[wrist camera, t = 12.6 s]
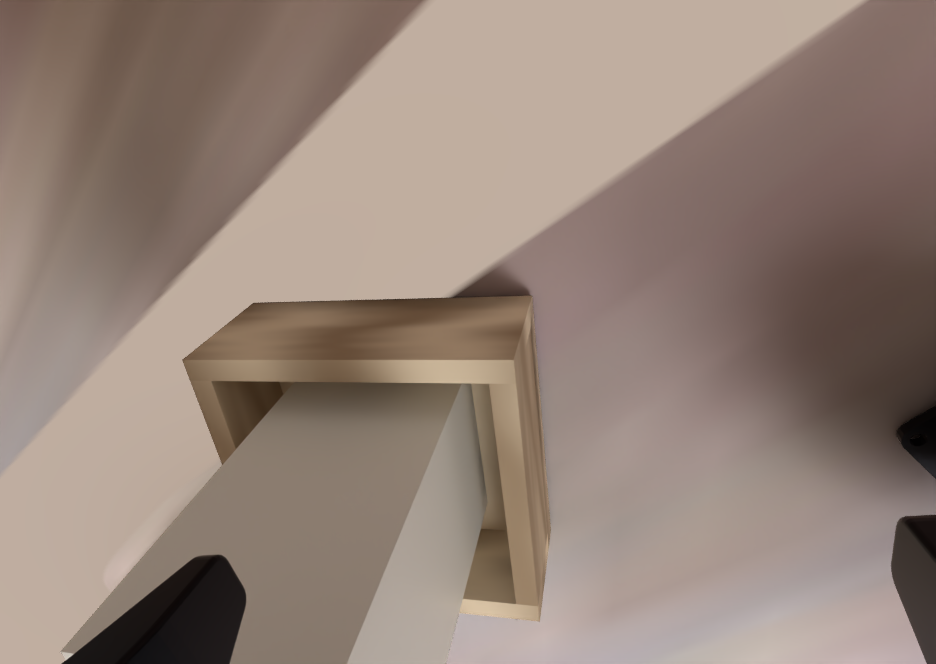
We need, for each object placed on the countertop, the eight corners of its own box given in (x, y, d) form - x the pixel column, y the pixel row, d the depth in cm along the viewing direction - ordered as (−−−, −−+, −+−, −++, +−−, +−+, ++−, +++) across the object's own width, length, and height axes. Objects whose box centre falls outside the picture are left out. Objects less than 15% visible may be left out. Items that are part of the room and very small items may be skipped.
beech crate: (531, 295, 21) (513, 359, 17) (550, 529, 26) (539, 621, 22) (253, 303, 24) (182, 360, 20) (318, 514, 28) (271, 593, 24)
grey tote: (468, 366, 22) (335, 691, 11) (487, 501, 24) (395, 861, 14) (308, 366, 23) (60, 651, 13) (343, 493, 26) (164, 811, 16)
